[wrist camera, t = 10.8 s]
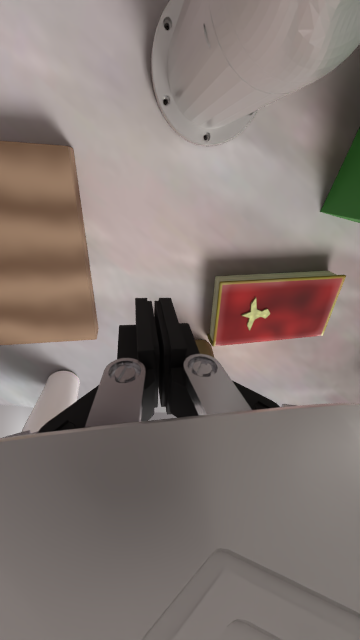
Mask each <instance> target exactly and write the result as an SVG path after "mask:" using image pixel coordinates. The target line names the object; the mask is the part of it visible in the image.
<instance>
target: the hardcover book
mask: <svg viewBox="0 0 360 640" xmlns="http://www.w3.org/2000/svg"><path fill="white" fill-rule="evenodd" d="M345 277H346V275H336V274H334V273H332V272H330V271H312V272H291V273H271V274H251V275H231V276H215V284H214V294H213V304H212V315H211V325H210V334H207V336H208V339H209V341H210V343H211V345H212V346H222V345H232V344H242V343H252V342H262V341H272V340H282V339H292V338H302V337H312V336H322V335H323V334H324V331H325V328H326V326H327V323H328V321H329V318H330V316H331V313H332V310H333V308H334V305H335V303H336V300H337V298H338V295H339V292H340V290H341V287H342V285H343V282H344V280H345Z"/></svg>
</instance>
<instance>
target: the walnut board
mask: <svg viewBox="0 0 360 640" xmlns="http://www.w3.org/2000/svg"><path fill="white" fill-rule="evenodd" d="M97 334H98V322H97V315H96V308H95V301H94V293H93V286H92V279H91V272H90V265H89V258H88V250H87V243H86V236H85V229H84V222H83V215H82V208H81V200H80V193H79V186H78V179H77V172H76V165H75V157H74V150H73V148H71V147H69V146H61V145H48V144H35V143H22V142H9V141H0V345H12V344H28V343H45V342H61V341H78V340H94V339H97Z"/></svg>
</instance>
